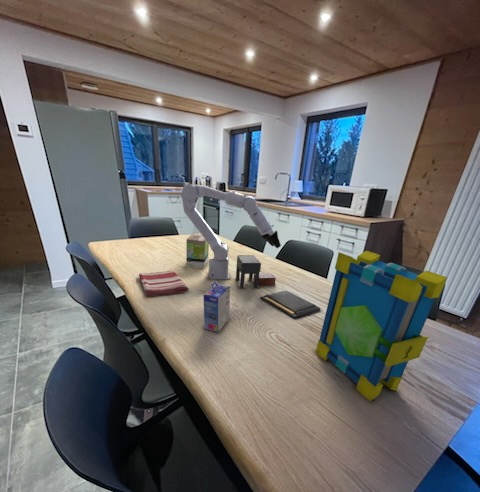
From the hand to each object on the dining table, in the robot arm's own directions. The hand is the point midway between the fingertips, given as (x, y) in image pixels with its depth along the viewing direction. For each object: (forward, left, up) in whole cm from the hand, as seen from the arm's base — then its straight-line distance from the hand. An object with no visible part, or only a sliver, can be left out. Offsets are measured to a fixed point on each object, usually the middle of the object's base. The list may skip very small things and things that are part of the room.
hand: (276, 246), depth 123 cm
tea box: (-35, +25, -17) cm, 46 cm away
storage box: (-6, -5, -17) cm, 18 cm away
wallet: (-1, -27, -17) cm, 32 cm away
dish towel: (-52, -5, -17) cm, 55 cm away
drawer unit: (-14, -5, -17) cm, 22 cm away
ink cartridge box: (-32, -40, -17) cm, 54 cm away
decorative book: (+2, -67, -17) cm, 69 cm away
